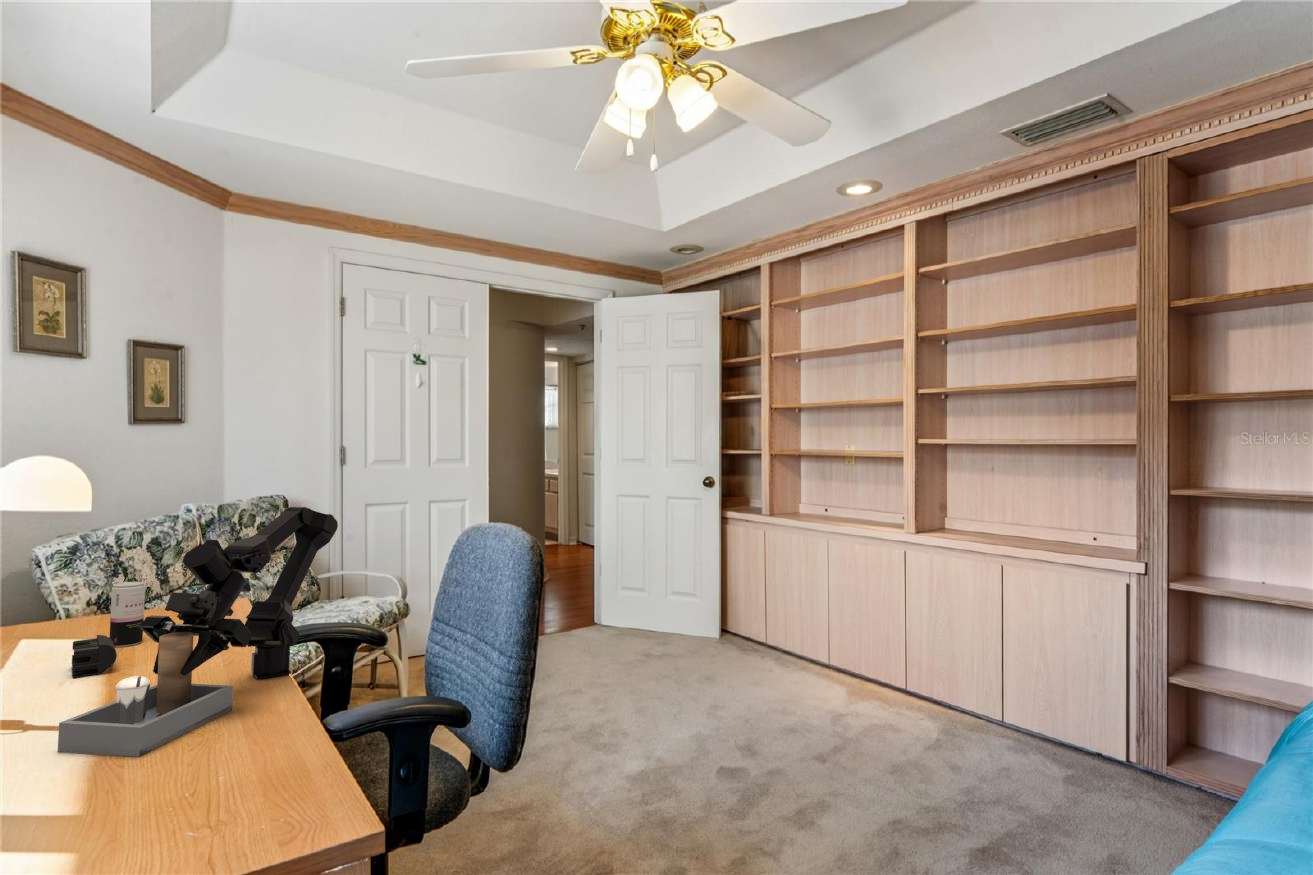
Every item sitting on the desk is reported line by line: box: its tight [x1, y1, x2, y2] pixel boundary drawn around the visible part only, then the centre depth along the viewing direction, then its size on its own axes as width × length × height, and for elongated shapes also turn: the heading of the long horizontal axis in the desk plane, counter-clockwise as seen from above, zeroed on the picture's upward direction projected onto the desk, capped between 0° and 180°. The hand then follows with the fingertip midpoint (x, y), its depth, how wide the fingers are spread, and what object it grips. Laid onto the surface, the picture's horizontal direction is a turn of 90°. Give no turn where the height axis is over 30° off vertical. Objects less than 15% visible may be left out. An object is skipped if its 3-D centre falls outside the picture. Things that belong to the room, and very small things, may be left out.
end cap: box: [71, 634, 118, 679], centre depth 146 cm, size 10×7×7 cm
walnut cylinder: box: [156, 632, 194, 714], centre depth 120 cm, size 5×5×13 cm
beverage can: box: [108, 581, 146, 648], centre depth 167 cm, size 7×6×15 cm
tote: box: [57, 683, 234, 758], centre depth 115 cm, size 20×14×4 cm
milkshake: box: [115, 675, 151, 725], centre depth 111 cm, size 4×5×10 cm
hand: (168, 673), depth 118 cm, fingers closed on walnut cylinder, 5 cm apart
